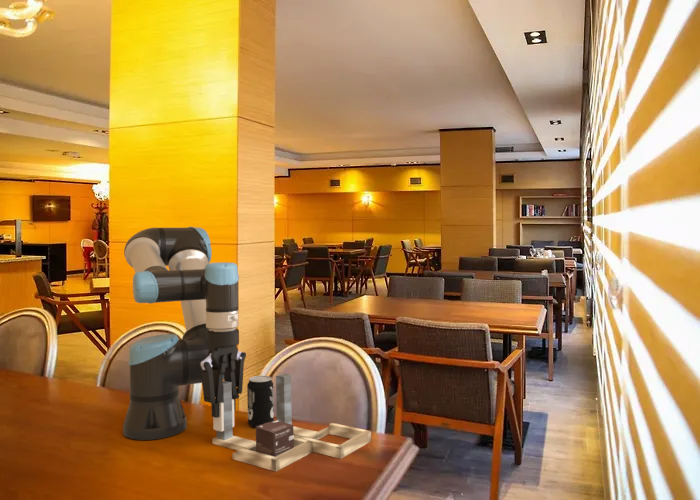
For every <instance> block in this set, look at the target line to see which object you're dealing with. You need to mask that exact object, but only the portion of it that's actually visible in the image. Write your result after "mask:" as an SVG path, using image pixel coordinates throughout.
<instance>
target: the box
mask: <svg viewBox="0 0 700 500" xmlns="http://www.w3.org/2000/svg"><path fill="white" fill-rule="evenodd" d="M293 426H294V424H292V425H291V424H288V423H284V422H281V421H277V419H274V421H272V422H268V423H264V424H262V425H259V426H256V428H255V441H256V451H255V452H259V453H262V454H266V455H270V456H274V457H276V456H278V455H280V454H282V453H284V452H286V451H288V450H290V449H292V448H294V431H293ZM294 427H295V426H294Z"/></svg>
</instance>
